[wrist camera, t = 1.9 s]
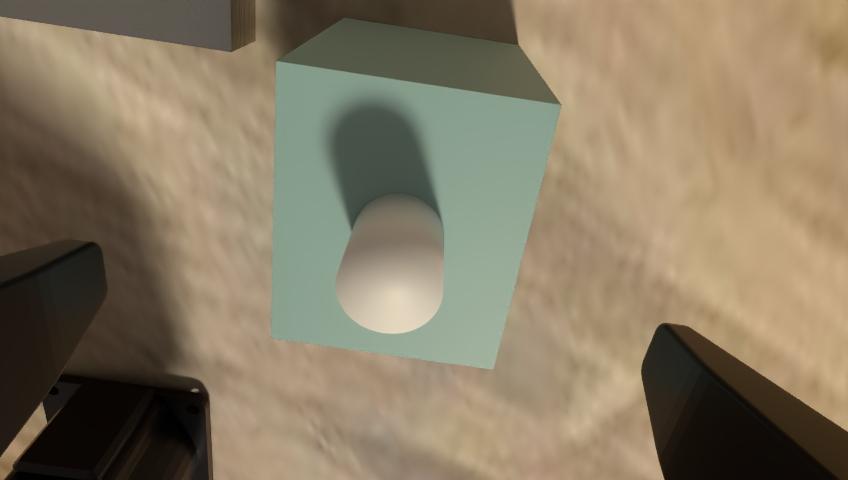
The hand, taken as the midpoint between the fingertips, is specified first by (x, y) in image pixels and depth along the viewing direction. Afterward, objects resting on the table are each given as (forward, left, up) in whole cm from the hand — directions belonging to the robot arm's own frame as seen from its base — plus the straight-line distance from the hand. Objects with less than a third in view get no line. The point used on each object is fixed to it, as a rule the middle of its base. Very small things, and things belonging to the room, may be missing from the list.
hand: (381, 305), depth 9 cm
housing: (0, 0, -9) cm, 9 cm away
